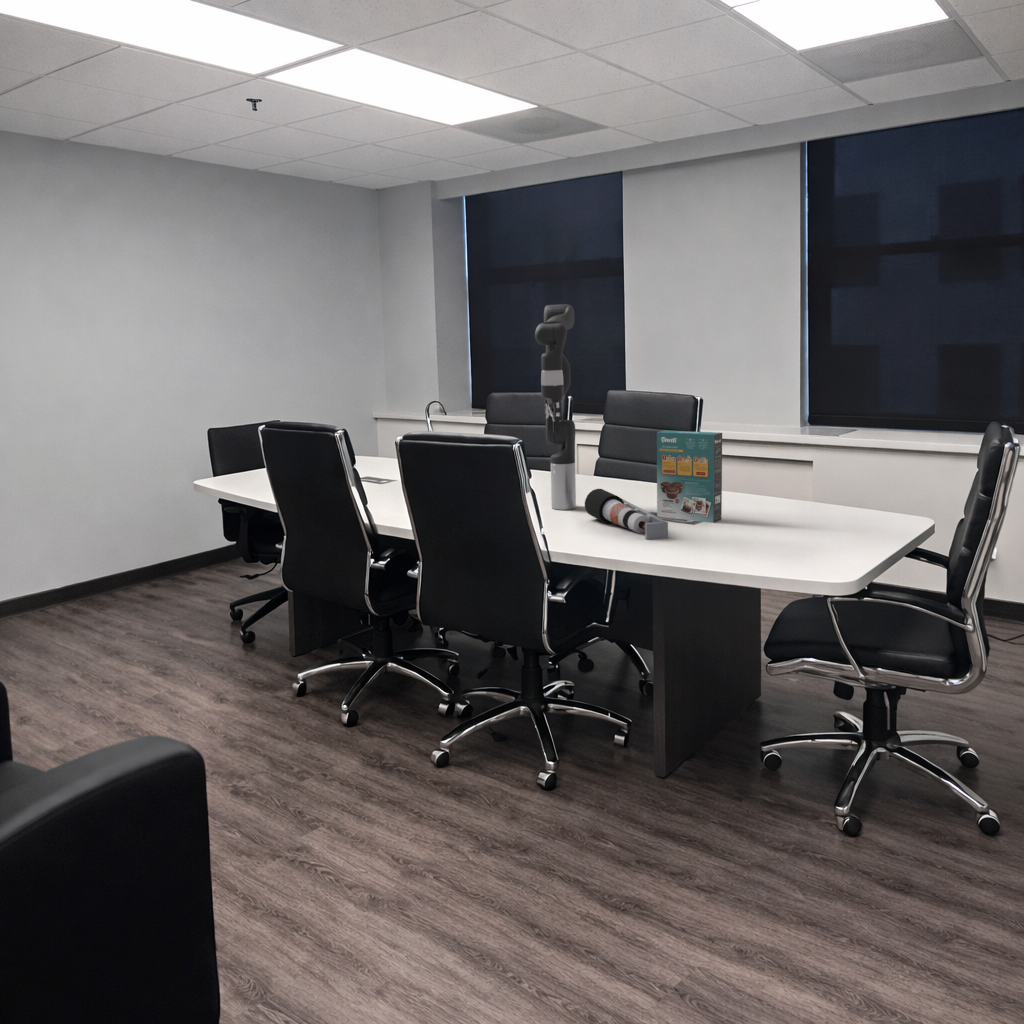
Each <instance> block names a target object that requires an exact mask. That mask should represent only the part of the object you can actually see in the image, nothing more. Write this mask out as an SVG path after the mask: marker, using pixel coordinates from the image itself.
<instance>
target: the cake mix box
mask: <svg viewBox="0 0 1024 1024" xmlns="http://www.w3.org/2000/svg"><path fill="white" fill-rule="evenodd" d="M722 483H723V432H712V431H710V432H708V431H688V430H686V431H684V430H661V431H657V432H656V517H658V518H668V519H676V520H686V521H692V522H693V521H695V522H702V523H703V522H704V523H716V522H719V521H722V513H723V512H722V507H723V506H722V505H723V503H722V499H723V497H722V496H723V491H722V490H723V486H722V485H723V484H722Z"/></svg>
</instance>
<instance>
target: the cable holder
mask: <svg viewBox="0 0 1024 1024" xmlns="http://www.w3.org/2000/svg"><path fill="white" fill-rule="evenodd" d="M620 498H621V497H620ZM621 499H622V500H623V502H624V504H625V505H626V506H629V507H631V508H632V509H633V510H636V511H637V512H639V513H641V514H642V515H644V516H646V517H647V518H648V519H649V523H645V532H644V538H645V539H644V540H657V539H658V540H659V539H668V538H669V522H668V521H666V520H664V519H662V518H661V517H657V515H654V514H653V513H650V512H649V511H646V510H645V509H643V508H641V507H639V506H637V505H635V504H633V503H631V502H630V501H628V500H626V499H623V498H621Z"/></svg>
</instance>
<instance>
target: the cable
mask: <svg viewBox="0 0 1024 1024" xmlns="http://www.w3.org/2000/svg"><path fill="white" fill-rule="evenodd" d="M622 499H623V498H622ZM622 499H621V497H619V496H618V495H616V494H613V493H612V492H609V491H608V490H605V489H603V488H596V489H592V490H590V492H589V493H588V494H587V496H586V497H585V500H584V509H585V511H586V513H587V514H588V515H589V516H591V517H593V518H595V519H597V520H599V521H601V522H602V523H604V524H607V525H608V524H609V525H610V524H616V525H618V526H619V527H623V528H626V529H627V530H631V531H634V533H636V534H642V533H645V523H649V519H648V518H647V517H646V516H644V515H642V514H641V513H639V512H637V511H636V510H633V509H632V508H631V507H629V506H626V505H625V504H624V502H623V500H624V499H623V500H622Z"/></svg>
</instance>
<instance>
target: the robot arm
mask: <svg viewBox="0 0 1024 1024" xmlns="http://www.w3.org/2000/svg"><path fill="white" fill-rule="evenodd" d="M574 325H575V310H574V307H573V306H572V305H571V304H566V303H565V304H564V303H563V304H562V303H561V304H559V303H558V304H546V305H545V306H544V310H543V322H541V323H539V324H537V326H536V328H535V332H534V338H535V341H536V342H537V343H538V344H539V345H541V346H545V352H544V353H542V354H541V358H540V360H541V362H540V363H541V373H540V375H541V377H540V384H541V386H540V387H541V390H540V391H541V398H542V399H545V400H544V417H545V439H546V443H547V444H548V445H552V446H553V445H557V446H558V445H562V446H563V445H564V446H565V448H564V449H563V450H561V451H559V452H557V453H554V454H552V455H551V456H550V460H549V461H550V488H551V489H550V492H551V493H550V495H551V499H550V500H551V509H553V510H561V511H562V510H563V511H566V510H572V509H576V508H577V497H576V496H577V490H576V489H577V487H576V424H575V422H574V420H572V419H563V415H562V413H563V412H562V410H563V409H562V400H563V399H564V397H565V396H566V394H567V392H568V391H569V389H570V386H571V382H572V380H571V376H572V375H571V365H570V362H569V360H568V359H567V358H566V355H565V354H564V353H563V352H564V347H565V345H566V344H565V343H566V339H567V335H568V330H571V329H573V327H574Z"/></svg>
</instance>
